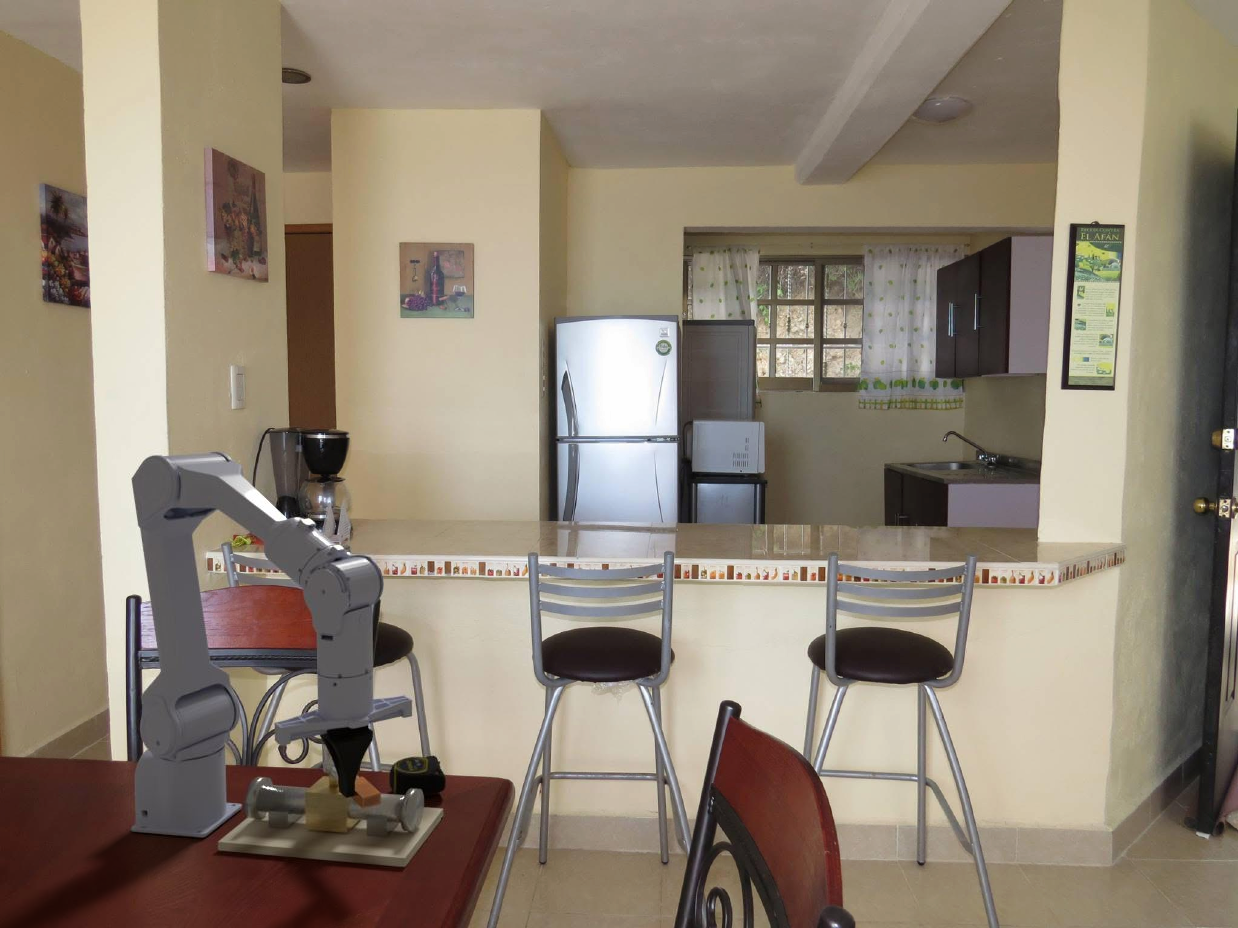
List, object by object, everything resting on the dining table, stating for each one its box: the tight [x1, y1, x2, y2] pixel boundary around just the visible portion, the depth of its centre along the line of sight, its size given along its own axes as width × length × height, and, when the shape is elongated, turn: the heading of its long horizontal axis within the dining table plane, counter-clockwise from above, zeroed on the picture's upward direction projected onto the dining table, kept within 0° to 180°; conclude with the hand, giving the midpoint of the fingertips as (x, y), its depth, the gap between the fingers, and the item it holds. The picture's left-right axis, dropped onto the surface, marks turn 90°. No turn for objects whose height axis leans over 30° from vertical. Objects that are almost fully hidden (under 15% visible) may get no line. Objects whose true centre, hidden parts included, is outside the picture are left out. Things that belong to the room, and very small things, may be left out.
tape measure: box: [388, 755, 447, 797], centre depth 116 cm, size 7×7×4 cm
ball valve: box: [243, 774, 425, 838], centre depth 105 cm, size 20×5×6 cm, turn 81°
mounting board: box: [217, 806, 444, 868], centre depth 105 cm, size 22×12×1 cm, turn 81°
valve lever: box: [322, 757, 382, 809], centre depth 100 cm, size 13×2×1 cm, turn 37°
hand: (347, 793), depth 97 cm, fingers closed, pressing on valve lever
